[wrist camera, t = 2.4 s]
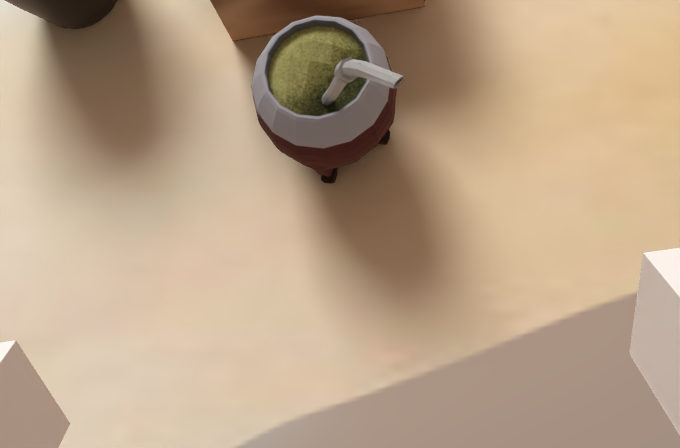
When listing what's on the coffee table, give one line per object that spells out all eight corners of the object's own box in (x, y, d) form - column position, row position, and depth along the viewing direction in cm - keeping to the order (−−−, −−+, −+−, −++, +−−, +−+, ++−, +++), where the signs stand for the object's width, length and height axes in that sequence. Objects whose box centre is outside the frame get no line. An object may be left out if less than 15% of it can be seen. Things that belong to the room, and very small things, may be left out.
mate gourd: (288, 73, 34) (203, -132, 19) (418, 85, 33) (432, -123, 18) (267, 190, 32) (157, 64, 18) (401, 206, 31) (402, 87, 17)
